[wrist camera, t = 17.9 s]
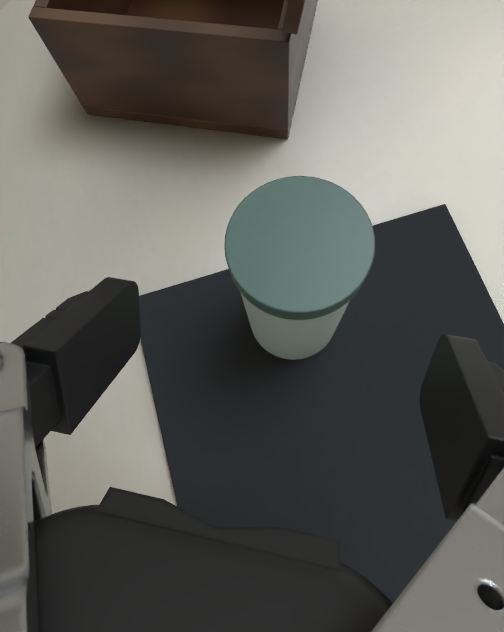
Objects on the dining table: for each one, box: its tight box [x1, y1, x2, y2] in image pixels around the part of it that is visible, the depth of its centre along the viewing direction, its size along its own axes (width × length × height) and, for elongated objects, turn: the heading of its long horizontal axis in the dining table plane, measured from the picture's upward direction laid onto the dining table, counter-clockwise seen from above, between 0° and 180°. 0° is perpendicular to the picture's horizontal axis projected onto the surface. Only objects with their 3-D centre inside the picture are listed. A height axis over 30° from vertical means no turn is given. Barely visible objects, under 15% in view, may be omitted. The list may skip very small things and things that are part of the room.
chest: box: [29, 0, 318, 139], centre depth 27 cm, size 15×13×7 cm
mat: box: [139, 204, 504, 603], centre depth 23 cm, size 20×20×1 cm
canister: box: [225, 176, 375, 360], centre depth 20 cm, size 5×5×10 cm
